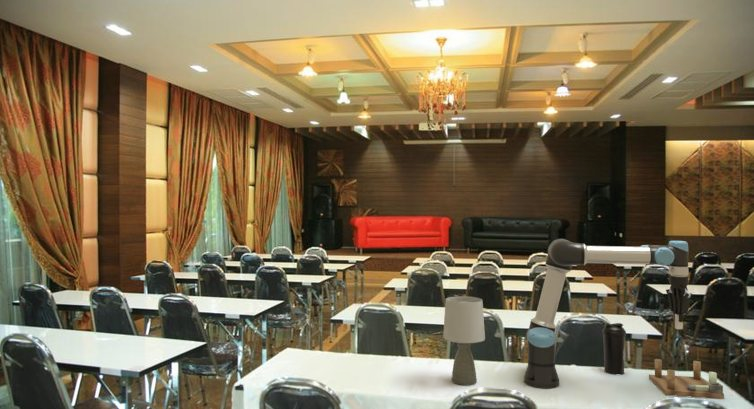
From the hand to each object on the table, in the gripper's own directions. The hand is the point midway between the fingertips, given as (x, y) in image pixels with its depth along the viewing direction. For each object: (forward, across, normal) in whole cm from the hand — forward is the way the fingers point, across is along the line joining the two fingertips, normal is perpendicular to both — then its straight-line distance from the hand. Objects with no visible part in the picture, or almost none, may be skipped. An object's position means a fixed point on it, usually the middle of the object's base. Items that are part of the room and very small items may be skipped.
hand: (678, 328), depth 236 cm
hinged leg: (+22, +14, -2) cm, 27 cm away
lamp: (+25, -23, -92) cm, 98 cm away
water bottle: (+25, -21, -17) cm, 37 cm away
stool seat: (+24, +6, -2) cm, 25 cm away
